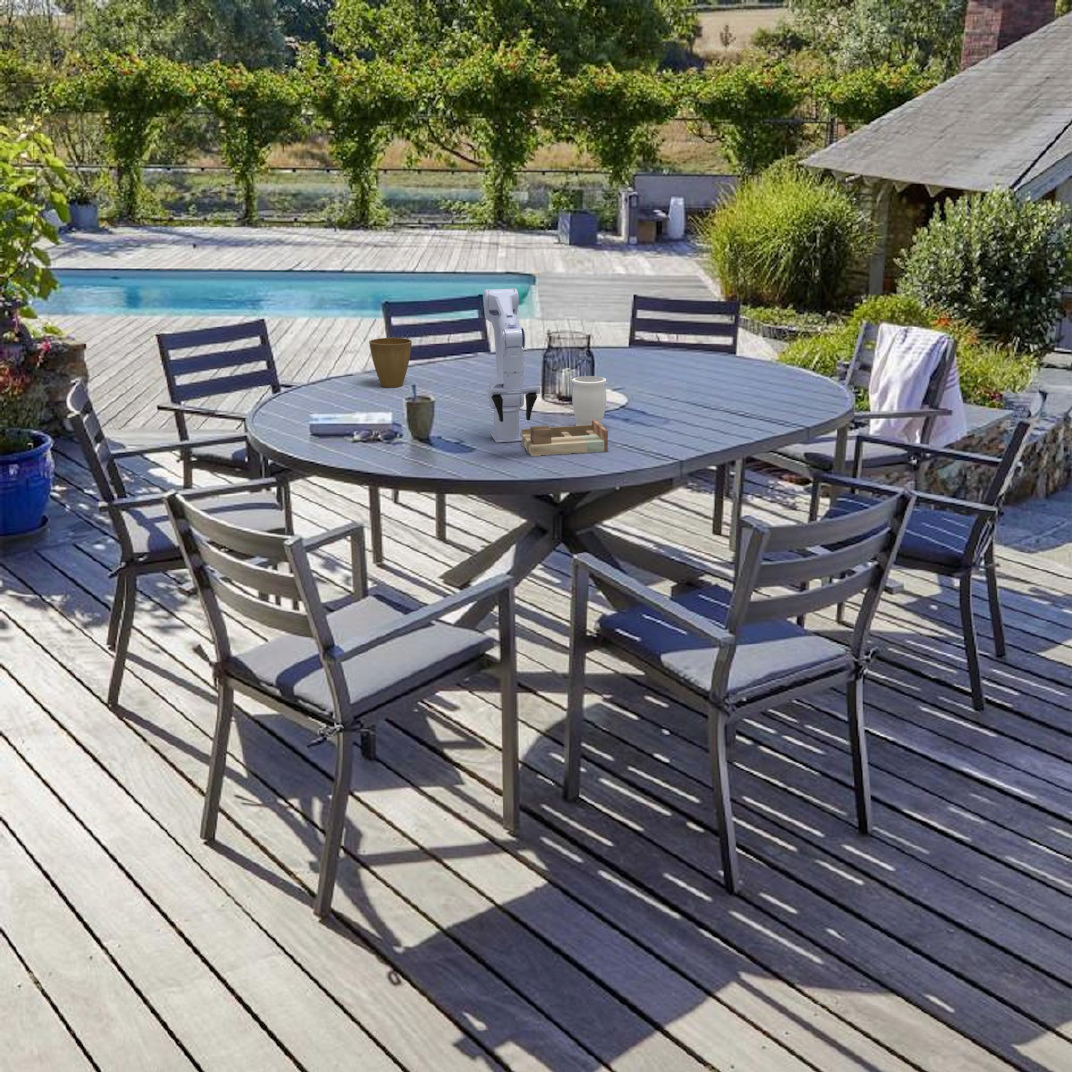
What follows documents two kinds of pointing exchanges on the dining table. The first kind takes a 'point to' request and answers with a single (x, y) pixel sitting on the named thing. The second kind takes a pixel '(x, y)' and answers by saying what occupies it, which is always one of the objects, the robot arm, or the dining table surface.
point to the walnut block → (540, 434)
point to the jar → (589, 399)
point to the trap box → (570, 440)
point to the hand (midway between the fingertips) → (514, 420)
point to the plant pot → (391, 359)
